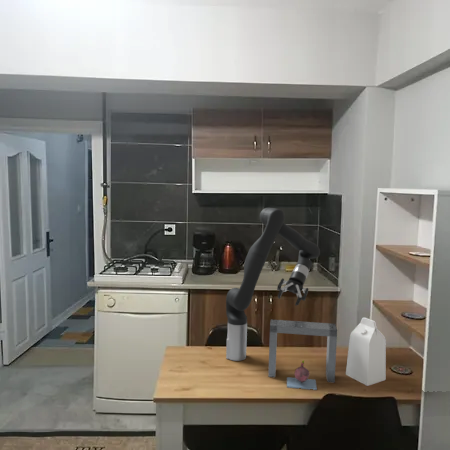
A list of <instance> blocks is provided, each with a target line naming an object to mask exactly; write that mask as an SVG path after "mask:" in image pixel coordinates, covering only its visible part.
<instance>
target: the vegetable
mask: <svg viewBox="0 0 450 450" xmlns="http://www.w3.org/2000/svg"><path fill="white" fill-rule="evenodd" d="M304 364H305V360H304V359H302V361H301V364H300V366H299V367H297V368H296V369H295V371H294V378H296V379H297V380H299V381H301V382H302V383H303V382H305V381H306V380H307V379H309V377H310V370H309V369H308V368H306V367H305V366H304Z"/></svg>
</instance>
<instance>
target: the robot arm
mask: <svg viewBox="0 0 450 450" xmlns="http://www.w3.org/2000/svg"><path fill="white" fill-rule="evenodd" d="M285 219H286V217H285V212H284V211H283V210H282V209H280V208H276V207H265V208H263V209H262V210H261V211H260V213H259V220H260V223H262V224H263V225H264V226H265V228H264V229H263V233H262V234H261V236H260V237H259V238H258V239H256V241H255V242H254V243H253V244H252V245H251V246H250V247H249V249H248V253H247V255H246V256H245V259H244V265H243V266H244V267H243V277H242V282H241V285H240V286H239V287H233V288H230V289H229V290H228V291H227V294H226V297H225V309H226V310H225V313H226V314H225V315H226V317H227V336H226V350H225V351H226V354H225V357H226V358H225V359H227V360H230V361H237V362H238V361H243V360H245V359H247V342H248V341H247V339H248V338H247V336H248V333H247V332H248V317H247V314H246V313H245V310H247V309H248V308H249V306H250V304H251V302H252V299H253V295H254V292H255V288H256V286H257V282H258V280H259V278H260V275H261V273H262V271H263V268H264V266H265V263H266V261H267V259H268V256H269V254H270V252H271V248H272V247H273V244H274V243H275V240H276V238H277V235H279V236H280V237H282V238H283V239H284V240H285V241H287V243H289V244H290V245H291V246H292V247H293V248H294V249H295V250H297V251H299V252H298V256H297V257H298V258H297V259H298V260H297V263H296V264H295V267H294V268H293V270H292V272H291V274H290V276H289V278H288V280H285V278H281V279H280V282H279V283H278V284H277V287H276V290H277V291H279V292H278V293H277V298H278V300H279V299H281V297H282V295H283V293H284V292H287V291H288V292H289V293H293V294H295V295H296V297H297V300H295V301H296V302H295V304H294V305H295V306H296V307H297V306H299V305H300V303H301V301H305V302H306V298H307V295H308V293H309V288H308V287H306V288H305V287H304V285H305V282H306V280H307V278H308V276H309V273H310V270H311V267H312V259H317V258H319V257H320V255H321V250H320V248H319V245H317V243H314V242H312V241H310V240H308V239H306V238H305V237H304V236H303V235H302V234H301V233H300V232H298V231H297V230H296V229H294V228H292V227H291V226H289V225H287V224H286V223H284V222H285ZM283 285H284V286H283ZM282 286H283V287H282ZM301 292H302V293H303V295H302V293H301Z"/></svg>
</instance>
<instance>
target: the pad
mask: <svg viewBox="0 0 450 450" xmlns="http://www.w3.org/2000/svg"><path fill="white" fill-rule="evenodd" d="M286 388H288V389H289V388H290V389H291V388H292V389H299V388H301V389H302V390H310V389H313V390H314V391H317V389H318V388H317V381H316V379H312V378H308V379H307V380H306V381H305V382H303V383H302V382H301V381H299V380H297V379H296V377H288V376H287V377H286ZM313 390H312V391H313Z"/></svg>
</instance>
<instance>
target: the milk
mask: <svg viewBox="0 0 450 450" xmlns="http://www.w3.org/2000/svg"><path fill="white" fill-rule="evenodd" d="M386 342H387V341H386V337H385V335H384V334H383V333H382V332H381V331H380V329H378V326H377V322H376V321H375V320H373V319H371V318H368V317H362V318H361V320H360V322H359V323H358V325H357V326H355V328H354V329H353V330H352V331H351V332H350V335H349V341H348V349H347V361H346V369H345V375H346V376H347V377H349V378H352V379H353V380H354V381H355V380H356V381H357V382H360V383H361V384H363V385H365V386H367V387H368V386H372V385H374V384H378V383H380V382H383V381H386V378H387V377H386V376H387V375H386V374H387V373H386V372H387V371H386V365H387V362H386V361H387V359H386V358H387V357H386V355H387V354H386V351H387V350H386V349H387V348H386V347H387V345H386Z"/></svg>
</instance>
